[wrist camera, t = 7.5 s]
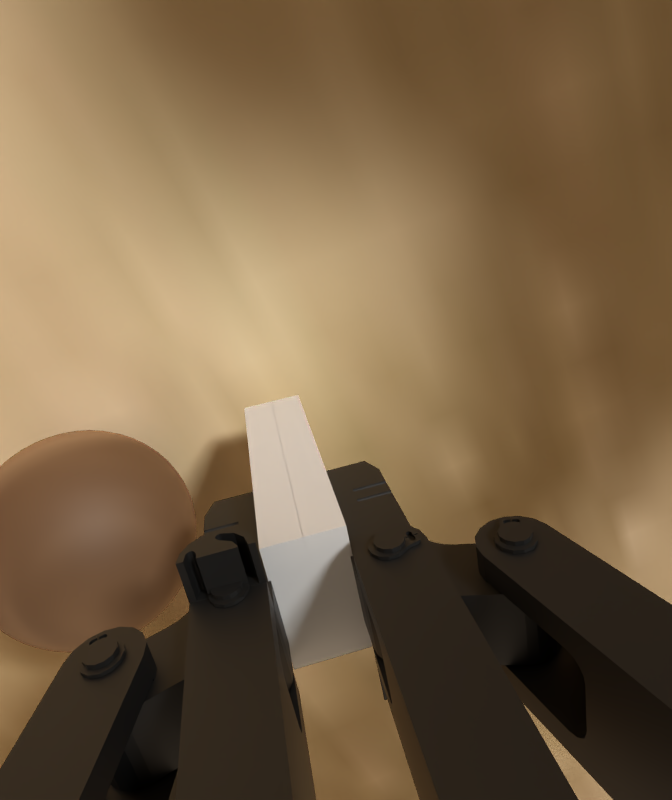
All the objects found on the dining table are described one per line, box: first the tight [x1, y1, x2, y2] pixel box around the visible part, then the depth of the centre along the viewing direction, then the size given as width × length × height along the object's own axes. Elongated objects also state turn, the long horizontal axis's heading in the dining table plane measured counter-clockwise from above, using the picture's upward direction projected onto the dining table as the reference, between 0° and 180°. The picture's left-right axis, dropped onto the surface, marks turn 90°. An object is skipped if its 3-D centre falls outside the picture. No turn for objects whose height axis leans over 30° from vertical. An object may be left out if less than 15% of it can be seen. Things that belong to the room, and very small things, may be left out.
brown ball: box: [0, 430, 197, 652], centre depth 15 cm, size 6×6×6 cm
